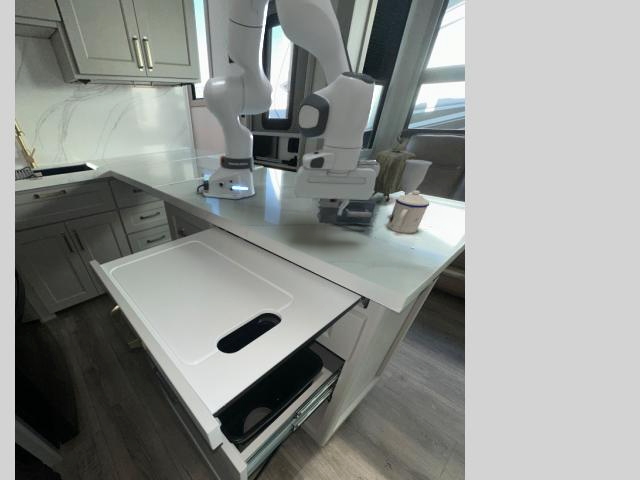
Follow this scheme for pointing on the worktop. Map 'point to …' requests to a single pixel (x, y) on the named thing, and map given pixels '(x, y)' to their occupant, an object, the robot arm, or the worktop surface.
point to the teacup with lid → (408, 212)
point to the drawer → (356, 211)
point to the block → (328, 212)
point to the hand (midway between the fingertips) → (327, 214)
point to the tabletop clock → (392, 168)
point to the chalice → (414, 174)
